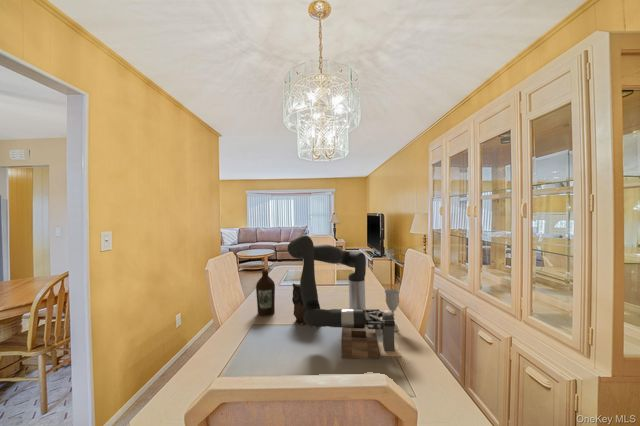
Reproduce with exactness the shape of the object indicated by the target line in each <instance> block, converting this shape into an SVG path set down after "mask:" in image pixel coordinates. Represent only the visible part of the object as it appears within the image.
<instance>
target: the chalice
mask: <svg viewBox="0 0 640 426" xmlns="http://www.w3.org/2000/svg"><path fill="white" fill-rule="evenodd" d="M384 293H385V303H386V305H387V307H388V310H389V311H391V312H392V314H393V316H394V320H395V311H397V309H398V306H399V305H400V304H399V303H400V290H399V289H394V288H389V289H388V288H387V289H385V290H384ZM397 331H399V326H398V324H397V323H396V322H395V326H394V332H397Z"/></svg>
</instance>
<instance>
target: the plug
mask: <svg viewBox="0 0 640 426" xmlns="http://www.w3.org/2000/svg"><path fill="white" fill-rule="evenodd" d="M394 318H395V315H394V316H393V314H392V311H391V310H390V309H388V310H387V309H386V310H383V311H382V317H381V320H394V321H395V319H394ZM382 342H383V348H384V351H395V345H394V343H395V331H394V327H384V330H382Z"/></svg>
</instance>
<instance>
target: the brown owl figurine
mask: <svg viewBox="0 0 640 426" xmlns="http://www.w3.org/2000/svg"><path fill="white" fill-rule="evenodd" d="M292 288H293V289H292V301H291V302H292V304H293V316H294V317H295V320H294V322H295V323H296V324H298V325H306V323H305V321H304V314H305V306H304V303H303V301H302V296H301V289H300V283H294V282H293V283H292Z"/></svg>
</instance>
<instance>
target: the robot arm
mask: <svg viewBox="0 0 640 426" xmlns="http://www.w3.org/2000/svg"><path fill="white" fill-rule="evenodd" d="M287 252H288V255H290V256H291V257H292V258H293V259H297V260H302V262H303V265H302V272H301V274H300V275H301V276H300V280H299V281H300V282H299V284H300V289H301V296H302V301H303V303H304V306H305V314H304V321H305V323H306V325H307V326H308V327H309V328H323V327H329V328H341V329H342V328H361V329H363V328H365V327H366V325H367V327H368V329H375V330H379V331H380V330H382V331H383V330H384V327H394V326H395V323H396V322H395V319H394V320H382V312H383V311H381V310H380V309H377V308H375V309H374V308H373V309H371V308H370V309H366V278H365V277H366V273H367V272H366V271H367V270H366V269H367V267H366V266H367V258H366V255H365V253H364V252H360V251H353V250H352V251H351V250H350V251H347V250H342V249H340V248H339V247H338V246H334V245H331V244H317V245H315V244H314V242H313V239H312V238H311V237H310V236H308V235H307V234H306V235H305V234H303V235H300V236H298V237H297V238H295V239H293V240H292V241H290V242H289V244H288V245H287ZM316 261H318V262H321V263H326V264H331V265H332V264H333V265H334V264H336V265H337V264H338V265H339V264H341V265H344V266H345V267H348V268H353V269H354V271H353V272H351V273H349V275H348V299H349V300H348V301H349V303H348V305H349V306H348V307H349V308H342V309H341V308H340V309H339V308H334V309H323V308H321V305H320V302H319V296H318V289H317V283H316V275H315V273H316V272H315V262H316Z"/></svg>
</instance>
